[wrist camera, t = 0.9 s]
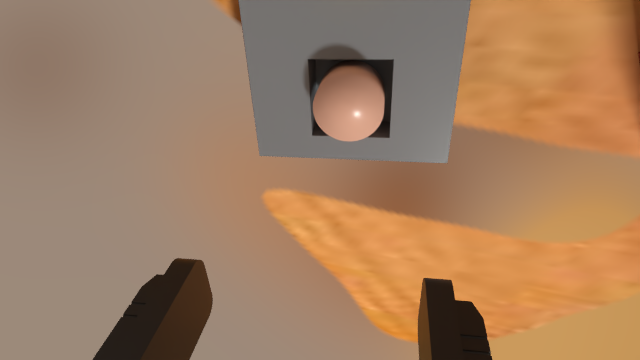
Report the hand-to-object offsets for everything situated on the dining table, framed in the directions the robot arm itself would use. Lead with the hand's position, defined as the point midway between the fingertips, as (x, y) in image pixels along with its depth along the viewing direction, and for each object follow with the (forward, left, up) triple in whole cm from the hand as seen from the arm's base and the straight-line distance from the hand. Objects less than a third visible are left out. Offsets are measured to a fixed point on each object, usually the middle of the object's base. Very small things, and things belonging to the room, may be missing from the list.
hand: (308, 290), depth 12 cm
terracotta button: (0, 0, -16) cm, 16 cm away
